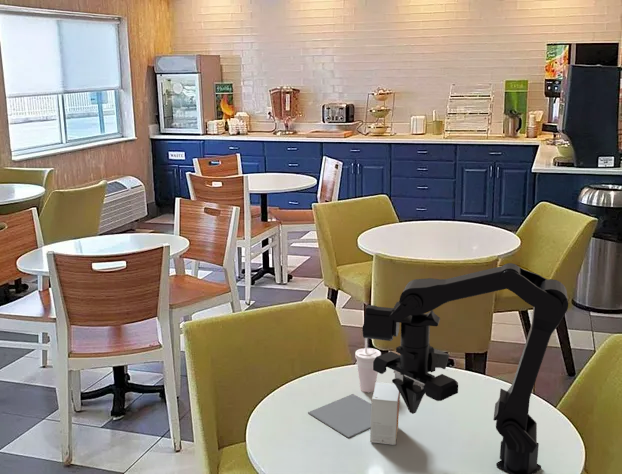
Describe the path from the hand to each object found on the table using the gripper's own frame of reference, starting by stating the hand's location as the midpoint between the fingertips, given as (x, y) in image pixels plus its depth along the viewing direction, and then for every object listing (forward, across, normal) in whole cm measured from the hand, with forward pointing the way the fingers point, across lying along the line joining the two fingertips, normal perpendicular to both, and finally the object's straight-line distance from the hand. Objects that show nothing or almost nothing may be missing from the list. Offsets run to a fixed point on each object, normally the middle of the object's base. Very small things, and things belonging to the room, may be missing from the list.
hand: (413, 412), depth 143 cm
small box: (+9, +8, 0) cm, 12 cm away
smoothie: (+9, +26, -12) cm, 30 cm away
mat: (+9, +19, 0) cm, 21 cm away
